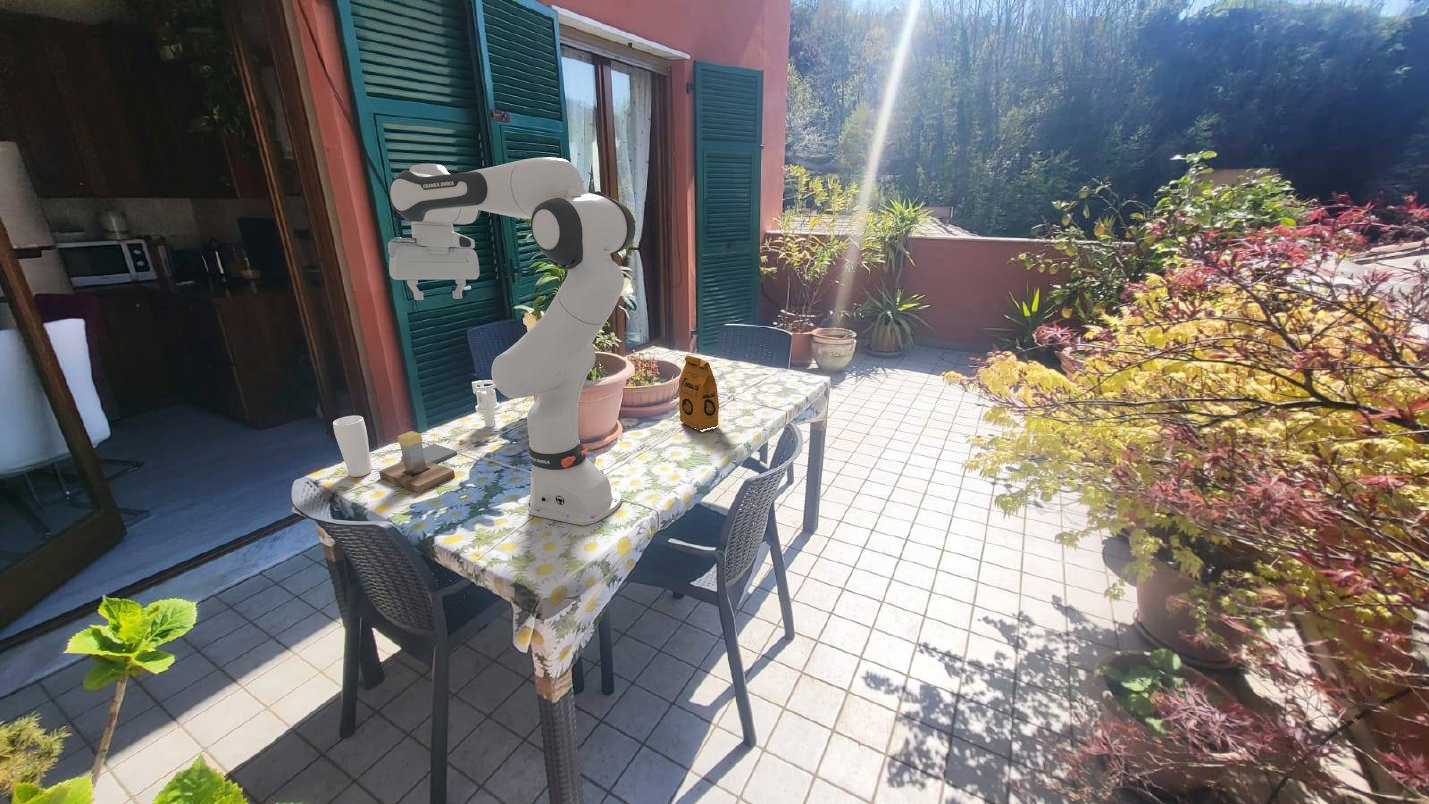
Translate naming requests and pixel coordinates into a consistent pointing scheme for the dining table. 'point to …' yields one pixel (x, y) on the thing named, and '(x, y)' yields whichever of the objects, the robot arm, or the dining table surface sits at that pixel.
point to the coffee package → (698, 394)
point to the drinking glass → (353, 444)
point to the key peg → (412, 453)
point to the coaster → (437, 453)
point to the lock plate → (417, 476)
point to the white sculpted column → (486, 401)
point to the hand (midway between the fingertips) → (438, 299)
